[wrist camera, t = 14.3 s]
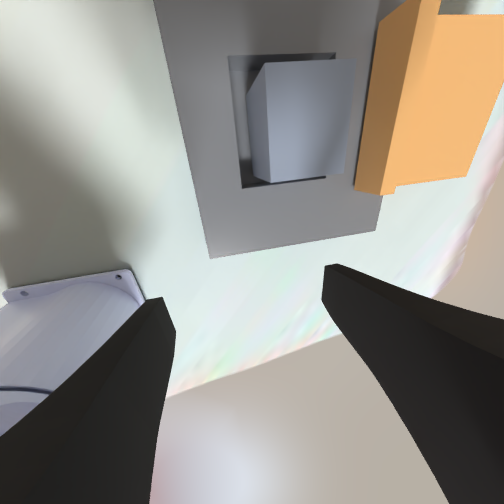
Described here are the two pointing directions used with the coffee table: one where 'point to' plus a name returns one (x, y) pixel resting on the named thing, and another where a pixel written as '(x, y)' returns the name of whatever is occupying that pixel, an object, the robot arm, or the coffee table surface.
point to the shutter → (428, 95)
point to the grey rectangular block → (300, 118)
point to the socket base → (236, 117)
